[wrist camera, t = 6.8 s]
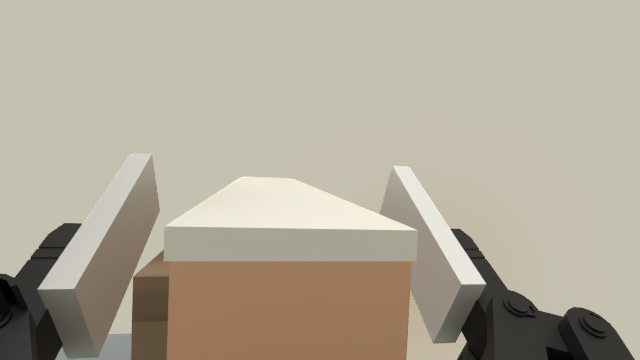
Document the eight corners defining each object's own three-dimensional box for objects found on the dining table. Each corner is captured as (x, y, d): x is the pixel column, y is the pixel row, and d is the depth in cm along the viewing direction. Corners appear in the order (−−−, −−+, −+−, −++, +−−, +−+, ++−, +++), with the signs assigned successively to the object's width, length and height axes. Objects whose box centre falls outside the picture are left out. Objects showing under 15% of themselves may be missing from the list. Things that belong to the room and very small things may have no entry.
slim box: (407, 432, 7) (418, 230, 7) (158, 455, 6) (164, 226, 6) (291, 222, 33) (293, 178, 32) (239, 221, 32) (241, 176, 32)
